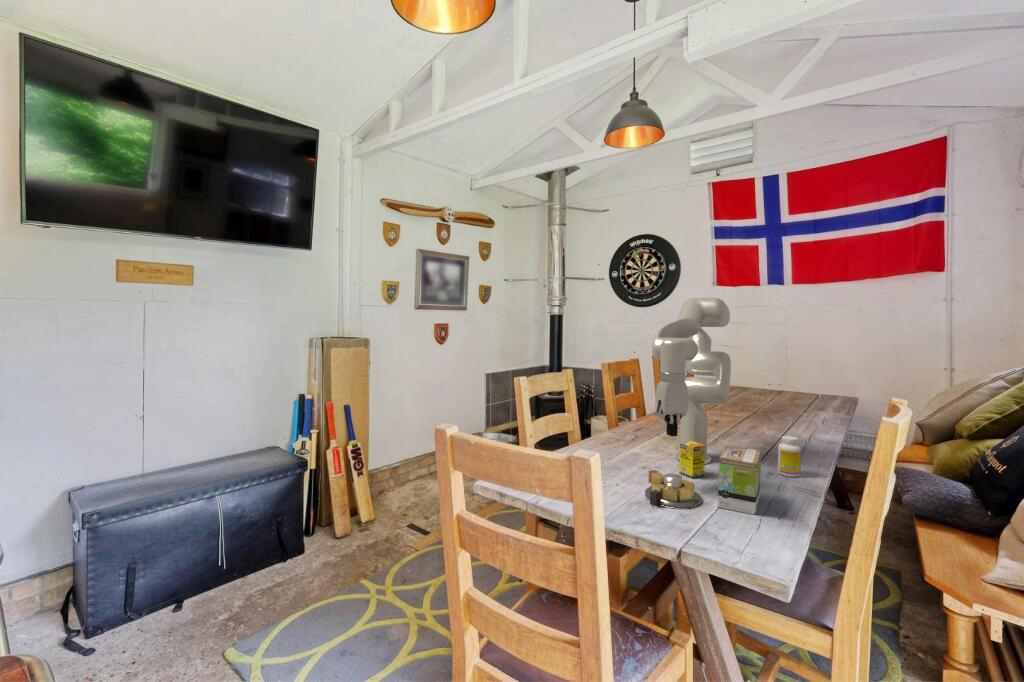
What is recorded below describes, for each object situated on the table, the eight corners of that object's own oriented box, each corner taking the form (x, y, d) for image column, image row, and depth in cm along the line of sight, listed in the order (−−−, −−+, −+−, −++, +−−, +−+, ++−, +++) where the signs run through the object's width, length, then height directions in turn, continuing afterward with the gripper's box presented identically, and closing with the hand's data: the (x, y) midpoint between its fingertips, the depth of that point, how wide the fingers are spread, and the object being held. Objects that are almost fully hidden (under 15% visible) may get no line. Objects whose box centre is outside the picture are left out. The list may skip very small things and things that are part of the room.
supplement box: (692, 479, 154) (693, 447, 153) (678, 473, 159) (679, 442, 159) (705, 476, 157) (705, 444, 156) (690, 471, 162) (691, 440, 161)
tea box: (756, 515, 125) (757, 462, 125) (716, 507, 131) (717, 456, 130) (760, 497, 138) (761, 449, 137) (724, 490, 144) (724, 444, 143)
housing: (630, 492, 143) (630, 471, 142) (677, 485, 148) (678, 465, 148) (661, 512, 127) (662, 489, 127) (713, 504, 133) (714, 482, 132)
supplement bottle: (803, 478, 154) (804, 440, 153) (781, 477, 155) (782, 439, 155) (795, 471, 161) (796, 435, 160) (774, 470, 162) (775, 434, 161)
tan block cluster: (636, 483, 146) (636, 470, 146) (667, 479, 150) (667, 467, 150) (668, 503, 131) (668, 489, 130) (702, 498, 134) (702, 484, 134)
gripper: (682, 375, 152) (681, 430, 153) (645, 378, 146) (645, 435, 147) (699, 378, 145) (698, 435, 146) (662, 380, 139) (661, 440, 140)
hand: (671, 435), depth 146 cm, fingers closed
